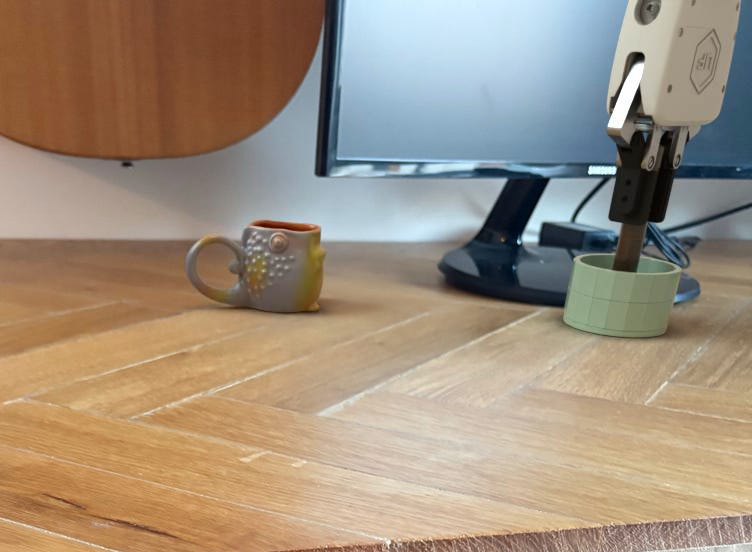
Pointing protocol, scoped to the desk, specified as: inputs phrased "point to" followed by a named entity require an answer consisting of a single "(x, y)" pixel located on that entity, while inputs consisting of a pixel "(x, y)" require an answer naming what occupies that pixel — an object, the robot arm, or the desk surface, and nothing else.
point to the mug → (268, 267)
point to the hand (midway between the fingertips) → (635, 219)
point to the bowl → (621, 296)
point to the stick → (633, 235)
